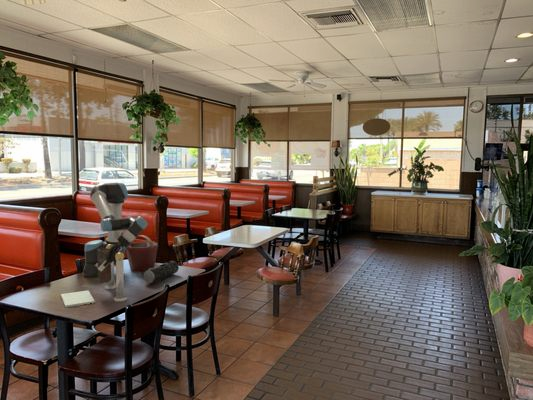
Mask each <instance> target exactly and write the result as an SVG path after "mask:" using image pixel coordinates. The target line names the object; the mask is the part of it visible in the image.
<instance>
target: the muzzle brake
mask: <svg viewBox="0 0 533 400" xmlns="http://www.w3.org/2000/svg"><path fill="white" fill-rule="evenodd" d="M178 271H179V264H178V262H176V261H175V260H170V261H168V262H164V263H162V264H160V265H157V266H154V268H150V269H148V270H146V271H145V272H143V274H142V275H143V281H144V282H145V283H147V284H156V283H158V282H159V281H160V280H163V279H166V278H170V277H171V276H174V275H175V274H176V273H177V272H178Z"/></svg>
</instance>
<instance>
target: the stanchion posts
mask: <svg viewBox="0 0 533 400" xmlns="http://www.w3.org/2000/svg"><path fill="white" fill-rule="evenodd" d="M112 246H113V245H112V244H108V245H107V246H106V249H107V248H108V249H110V248H111V247H112ZM124 259H125V253H124V254H123V253H122V252H118V253H116V255H115V260H114V261H113V262H112V263H111V281H109V282H106V284H105V285H104V289H105V290H108V291H111V290H112V291H113V290H116V296H114V298H113V301H114V303H123V302H126V301H127V300H128V297H127V295H125V281H124V279H125V278H124V276H125V275H124V274H125V273H124V272H125V270H124ZM114 263H115V264H114ZM115 271H116V273H115ZM115 274H116V275H115ZM115 278H116V280H115ZM115 281H116V283H115Z"/></svg>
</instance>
